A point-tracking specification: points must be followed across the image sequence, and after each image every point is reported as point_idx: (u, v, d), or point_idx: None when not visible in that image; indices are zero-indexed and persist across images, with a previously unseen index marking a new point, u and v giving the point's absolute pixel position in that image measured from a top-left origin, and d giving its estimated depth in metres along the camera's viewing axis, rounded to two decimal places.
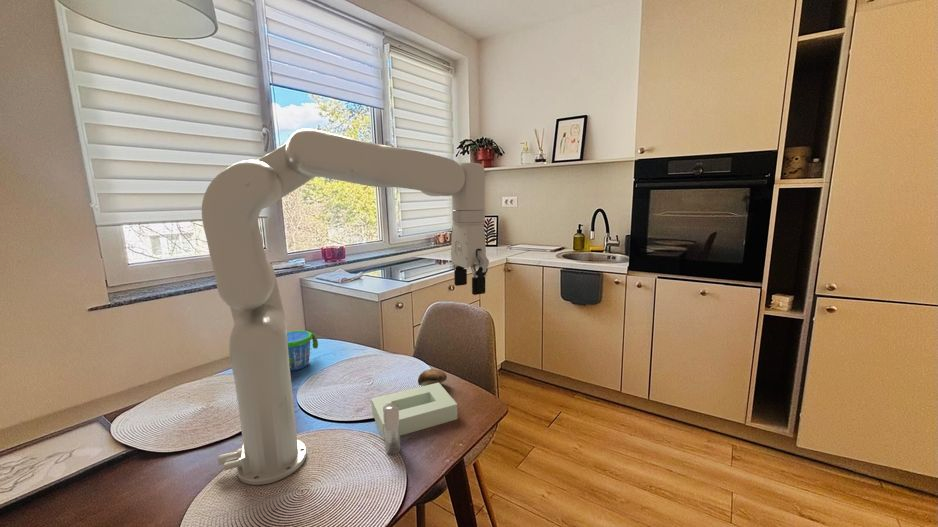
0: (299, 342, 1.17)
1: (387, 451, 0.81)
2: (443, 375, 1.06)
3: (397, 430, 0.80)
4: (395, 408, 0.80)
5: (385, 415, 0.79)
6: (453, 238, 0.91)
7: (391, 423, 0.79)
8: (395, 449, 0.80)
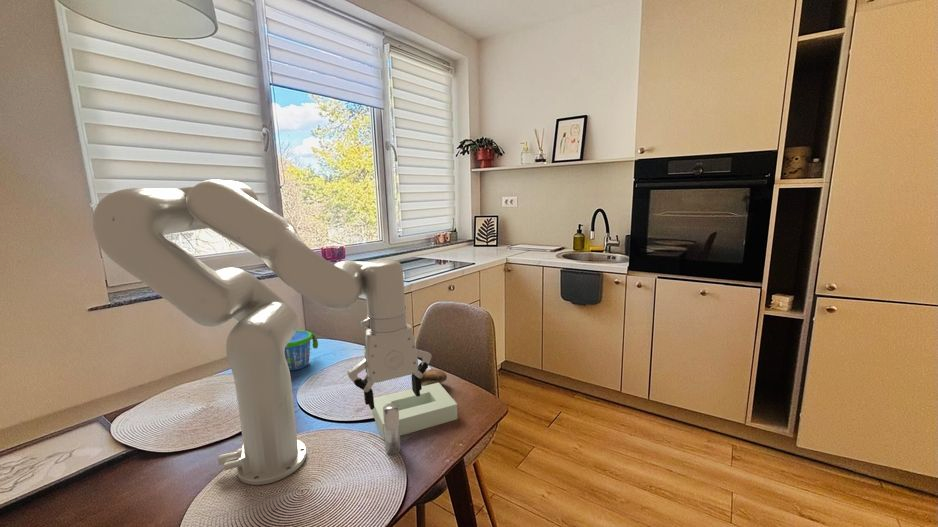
0: (299, 342, 1.17)
1: (387, 451, 0.81)
2: (443, 375, 1.06)
3: (397, 430, 0.80)
4: (395, 408, 0.80)
5: (385, 415, 0.79)
6: (379, 352, 0.74)
7: (391, 423, 0.79)
8: (395, 449, 0.80)
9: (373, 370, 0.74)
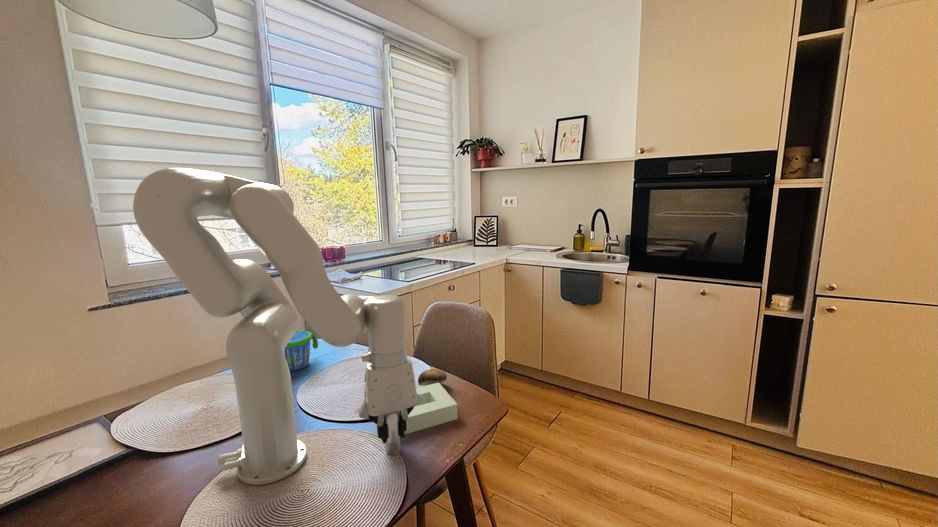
0: (299, 342, 1.17)
1: (387, 451, 0.81)
2: (443, 375, 1.06)
3: (397, 430, 0.80)
4: None
5: (386, 415, 0.79)
6: (378, 387, 0.75)
7: (391, 423, 0.79)
8: (395, 449, 0.80)
9: (372, 404, 0.75)
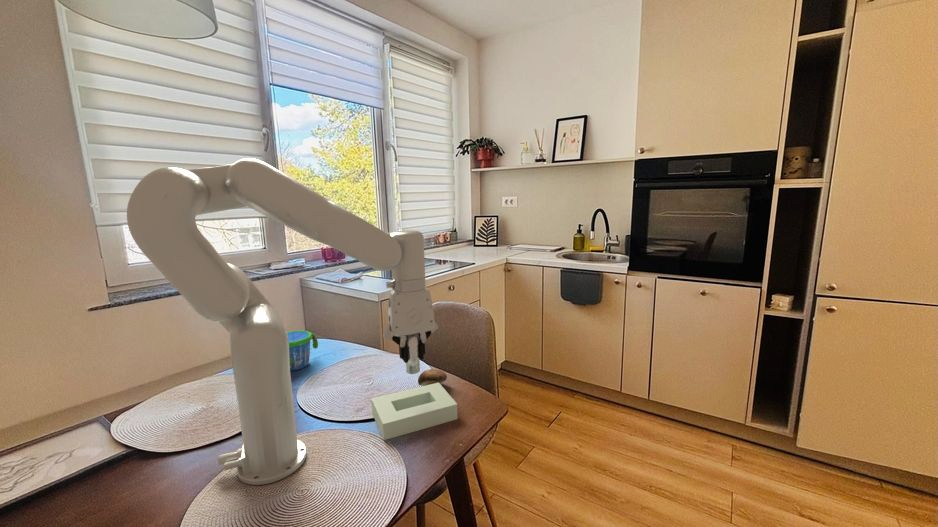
0: (299, 342, 1.17)
1: (408, 371, 0.91)
2: (443, 375, 1.06)
3: (417, 352, 0.90)
4: None
5: (407, 337, 0.89)
6: (401, 309, 0.86)
7: (412, 345, 0.89)
8: (415, 369, 0.91)
9: (396, 325, 0.86)
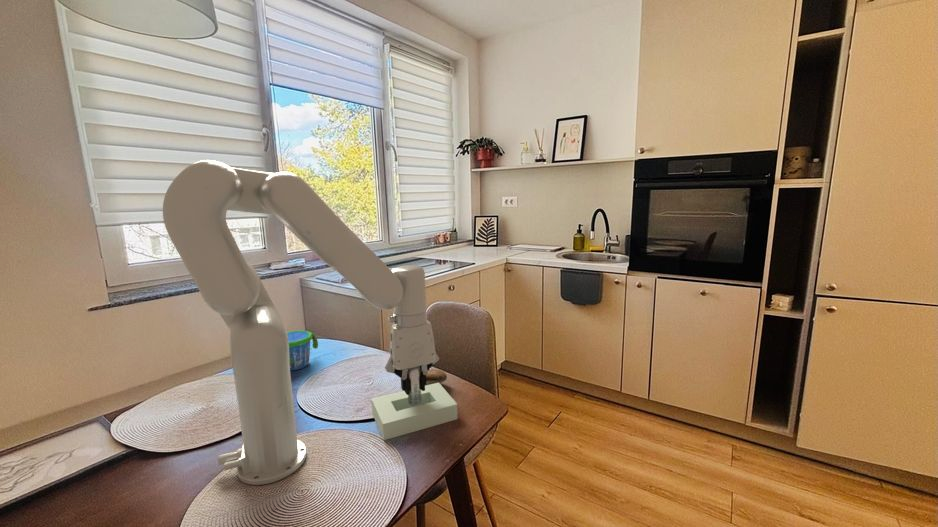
0: (299, 342, 1.17)
1: (410, 402, 0.92)
2: (443, 375, 1.06)
3: (418, 384, 0.92)
4: None
5: (409, 370, 0.91)
6: (403, 344, 0.87)
7: (413, 377, 0.91)
8: (417, 400, 0.92)
9: (398, 359, 0.87)
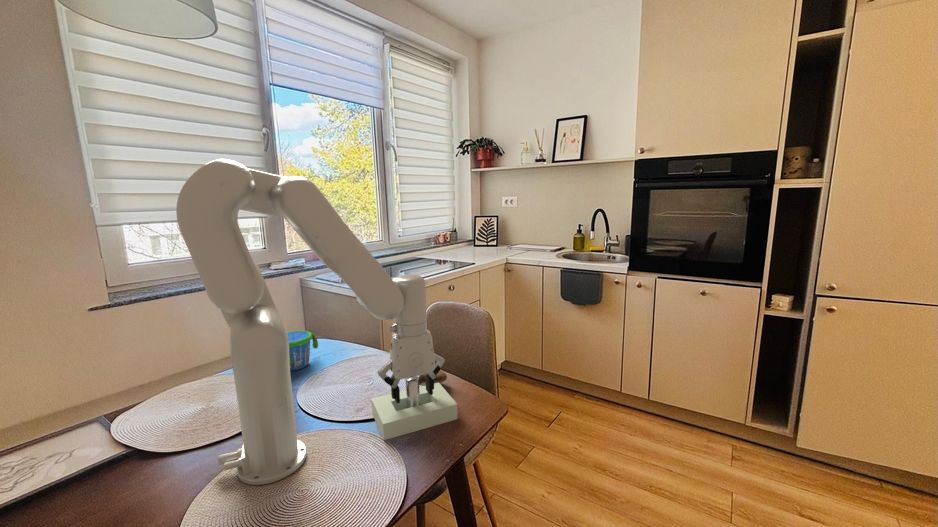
0: (299, 342, 1.17)
1: None
2: (443, 375, 1.06)
3: (418, 399, 0.92)
4: (416, 379, 0.92)
5: (408, 385, 0.91)
6: (403, 353, 0.87)
7: (413, 392, 0.91)
8: None
9: (398, 368, 0.88)
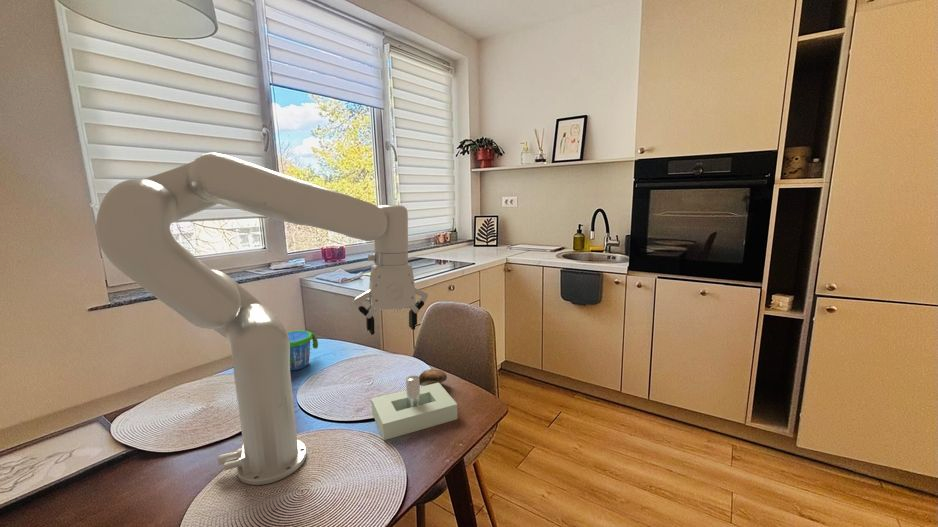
0: (299, 342, 1.17)
1: None
2: (443, 375, 1.06)
3: (418, 399, 0.92)
4: (416, 379, 0.92)
5: (408, 385, 0.91)
6: (382, 283, 0.85)
7: (413, 392, 0.91)
8: None
9: (376, 298, 0.85)
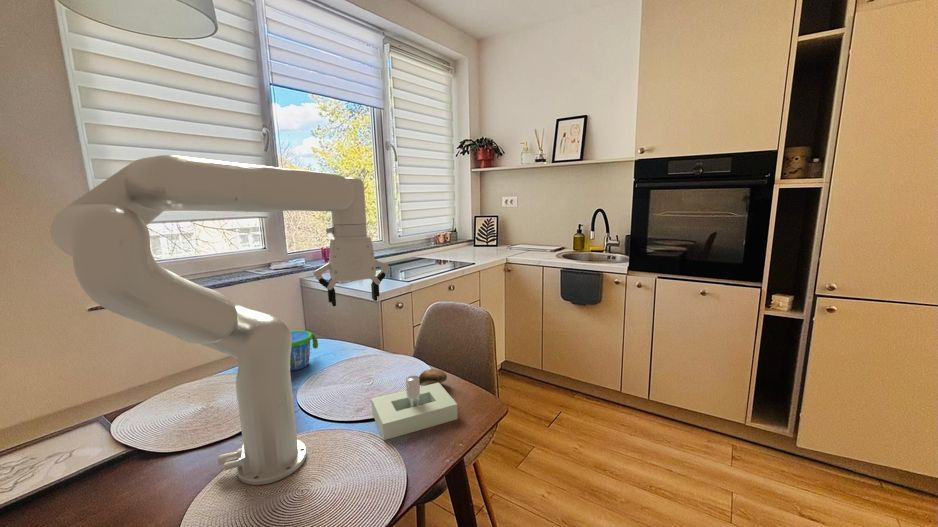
0: (299, 342, 1.17)
1: None
2: (443, 375, 1.06)
3: (418, 399, 0.92)
4: (416, 379, 0.92)
5: (408, 385, 0.91)
6: (340, 254, 0.87)
7: (413, 392, 0.91)
8: None
9: (335, 270, 0.87)
